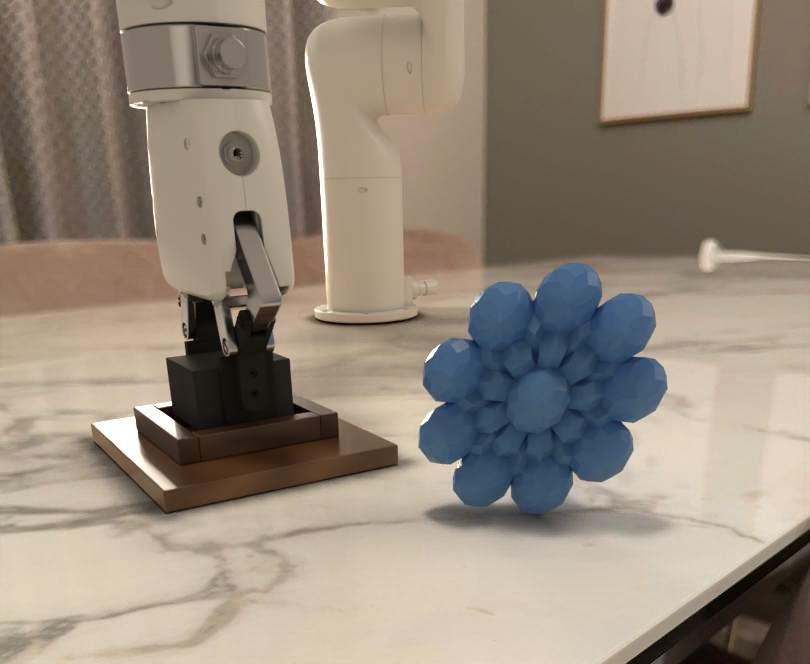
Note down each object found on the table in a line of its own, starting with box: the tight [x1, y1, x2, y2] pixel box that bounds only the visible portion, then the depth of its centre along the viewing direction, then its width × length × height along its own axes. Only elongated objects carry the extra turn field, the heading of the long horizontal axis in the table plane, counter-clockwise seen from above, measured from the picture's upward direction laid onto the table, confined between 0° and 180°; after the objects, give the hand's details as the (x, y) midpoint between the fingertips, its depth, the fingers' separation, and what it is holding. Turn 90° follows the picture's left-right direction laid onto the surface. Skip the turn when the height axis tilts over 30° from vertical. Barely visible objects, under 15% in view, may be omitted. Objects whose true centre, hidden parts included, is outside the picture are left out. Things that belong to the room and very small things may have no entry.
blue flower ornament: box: [417, 262, 669, 515], centre depth 41 cm, size 12×7×12 cm, turn 82°
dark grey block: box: [165, 351, 294, 431], centre depth 51 cm, size 6×5×4 cm
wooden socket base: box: [90, 391, 399, 513], centre depth 53 cm, size 14×16×3 cm
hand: (233, 407), depth 52 cm, fingers closed on dark grey block, 4 cm apart
